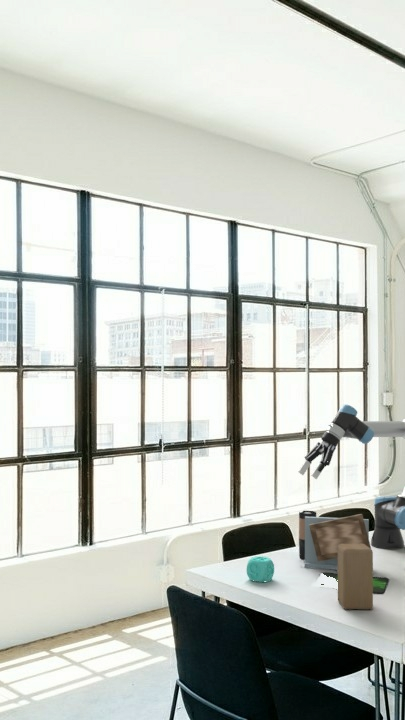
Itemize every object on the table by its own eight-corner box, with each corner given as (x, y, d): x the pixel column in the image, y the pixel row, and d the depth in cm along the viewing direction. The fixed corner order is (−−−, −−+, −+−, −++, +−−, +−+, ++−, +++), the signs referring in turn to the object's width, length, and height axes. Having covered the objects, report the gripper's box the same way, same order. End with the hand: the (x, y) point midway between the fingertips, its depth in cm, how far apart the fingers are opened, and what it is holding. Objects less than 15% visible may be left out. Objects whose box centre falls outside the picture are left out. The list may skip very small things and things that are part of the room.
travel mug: (317, 560, 293) (317, 513, 294) (299, 560, 293) (300, 513, 294) (315, 556, 300) (315, 510, 301) (297, 556, 301) (297, 510, 301)
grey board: (368, 566, 284) (368, 517, 285) (369, 571, 276) (368, 521, 277) (305, 562, 289) (305, 515, 290) (304, 567, 281) (304, 518, 282)
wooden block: (365, 601, 236) (365, 543, 237) (373, 610, 226) (373, 549, 227) (337, 601, 236) (336, 543, 237) (343, 610, 226) (343, 549, 227)
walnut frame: (371, 550, 276) (362, 513, 277) (371, 551, 274) (362, 514, 275) (318, 560, 280) (309, 524, 281) (317, 561, 278) (309, 525, 279)
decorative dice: (274, 579, 263) (274, 558, 264) (264, 583, 257) (264, 562, 257) (256, 575, 268) (256, 555, 268) (246, 580, 261) (246, 559, 261)
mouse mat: (308, 587, 254) (308, 584, 254) (319, 573, 274) (319, 570, 274) (384, 595, 244) (384, 592, 244) (389, 580, 265) (389, 577, 265)
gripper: (314, 429, 314) (289, 467, 309) (339, 432, 290) (313, 474, 285) (326, 438, 315) (301, 476, 311) (352, 442, 291) (326, 484, 287)
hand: (307, 475), depth 298 cm, fingers open, 13 cm apart
